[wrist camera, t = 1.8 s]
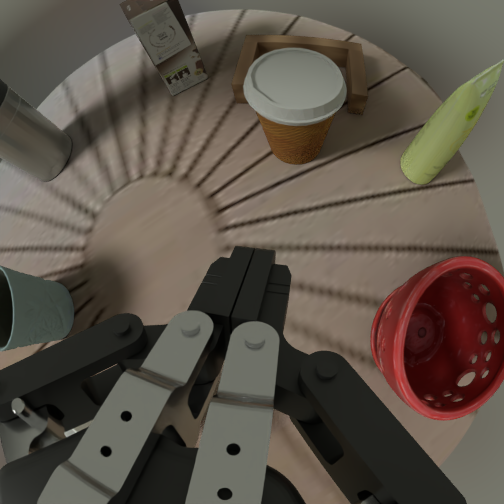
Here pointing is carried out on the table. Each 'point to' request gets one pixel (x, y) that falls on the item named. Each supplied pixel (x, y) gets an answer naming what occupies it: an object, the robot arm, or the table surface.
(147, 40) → the coffee box
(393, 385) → the plant pot
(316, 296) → the table surface
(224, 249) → the table surface
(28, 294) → the teal tapered cup
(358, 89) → the dock
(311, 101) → the disposable coffee cup
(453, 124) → the tube
